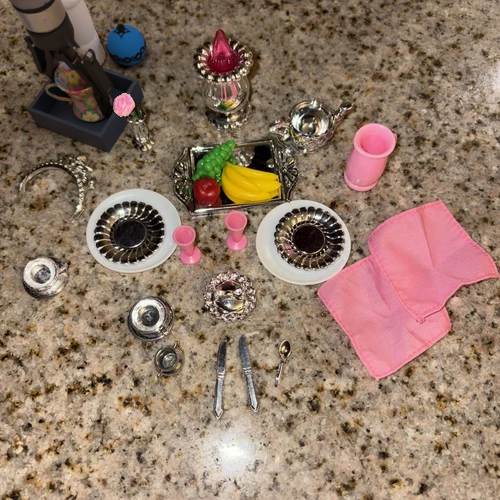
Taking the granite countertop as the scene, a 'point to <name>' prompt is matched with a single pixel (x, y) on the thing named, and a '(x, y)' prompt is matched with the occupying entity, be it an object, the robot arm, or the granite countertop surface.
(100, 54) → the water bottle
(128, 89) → the tote
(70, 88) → the mug
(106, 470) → the granite countertop surface
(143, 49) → the ornament
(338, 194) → the granite countertop surface
